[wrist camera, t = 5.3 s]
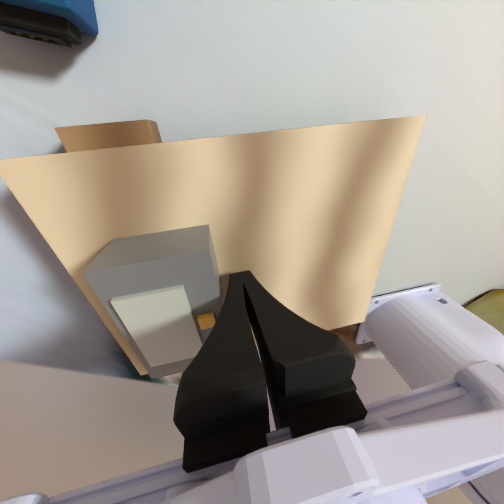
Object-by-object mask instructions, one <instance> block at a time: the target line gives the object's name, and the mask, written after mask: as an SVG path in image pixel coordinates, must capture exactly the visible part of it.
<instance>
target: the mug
mask: <svg viewBox="0 0 504 504" xmlns="http://www.w3.org/2000/svg"><path fill="white" fill-rule="evenodd" d="M465 309H467V310H468V311H470V312H471V313H473V314H474V315H476V316H477V317H479V318H480V319H482V320H483V321H485V322H486V323H488V324H489V325H491V326H492V327H494V328H495V329H496V330H498V331H499V332H500V333H501V334H502V335H504V289H497V290H492V291H490V292H489V293H487V294H485V295H483V296H482V297H481V298H479V299H477V300H476V301H473V302H472V303H470V304H469V305H467V306H466V307H465Z"/></svg>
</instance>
